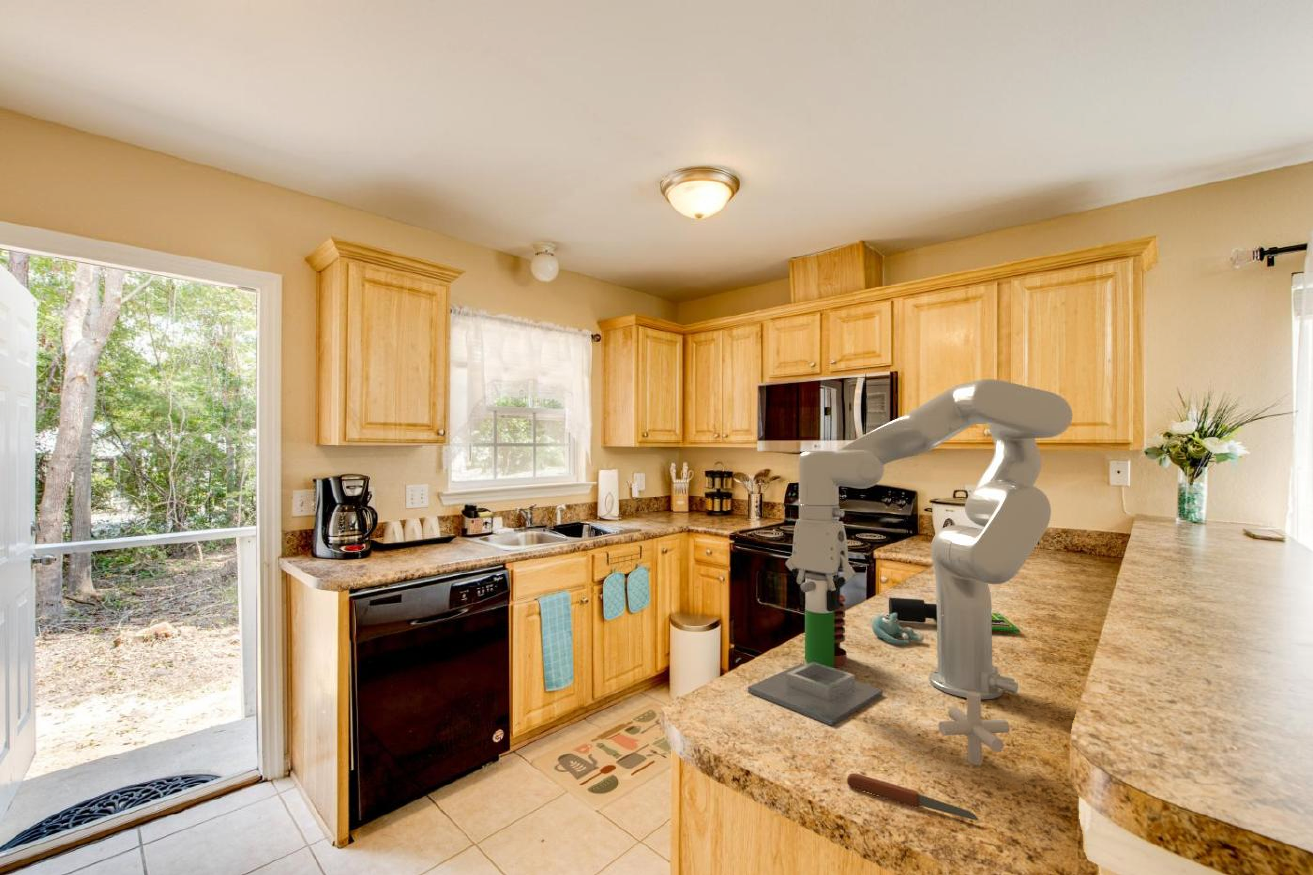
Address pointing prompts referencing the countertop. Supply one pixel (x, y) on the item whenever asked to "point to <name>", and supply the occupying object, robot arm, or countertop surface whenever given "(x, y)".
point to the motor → (825, 637)
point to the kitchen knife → (904, 795)
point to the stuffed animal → (893, 630)
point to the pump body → (815, 592)
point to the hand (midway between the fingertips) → (819, 605)
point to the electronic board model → (935, 613)
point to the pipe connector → (975, 728)
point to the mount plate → (817, 692)
